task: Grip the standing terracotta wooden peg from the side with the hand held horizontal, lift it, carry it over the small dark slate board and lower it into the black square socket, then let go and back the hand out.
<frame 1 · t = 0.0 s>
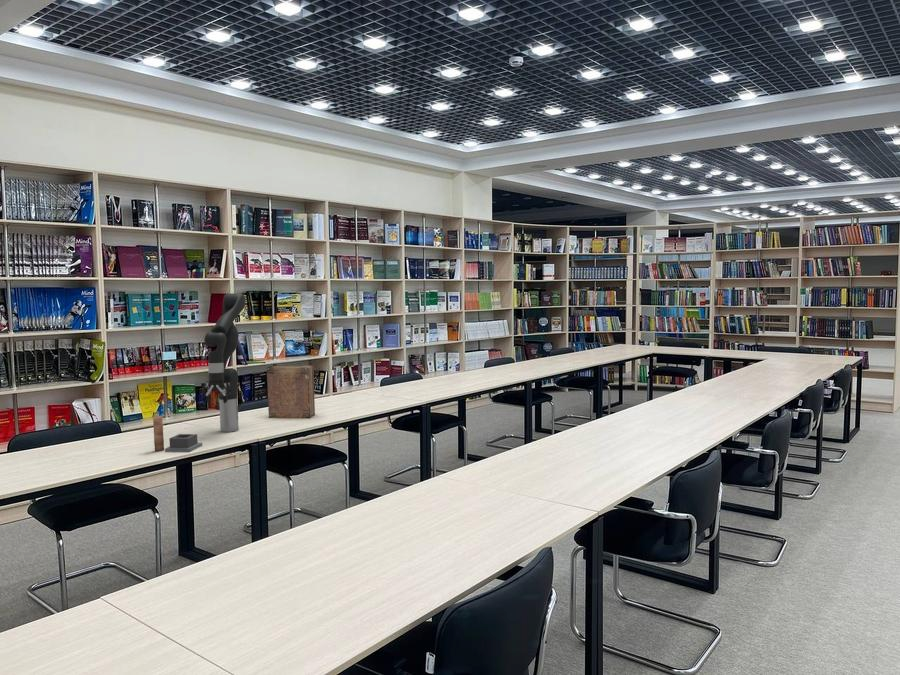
hand: (217, 403, 328), 17 cm above the table, tool pointing down, fingers open, 8 cm apart
socket board: (184, 448, 303), on the table
book: (292, 417, 378), on the table
peg: (159, 450, 300), on the table
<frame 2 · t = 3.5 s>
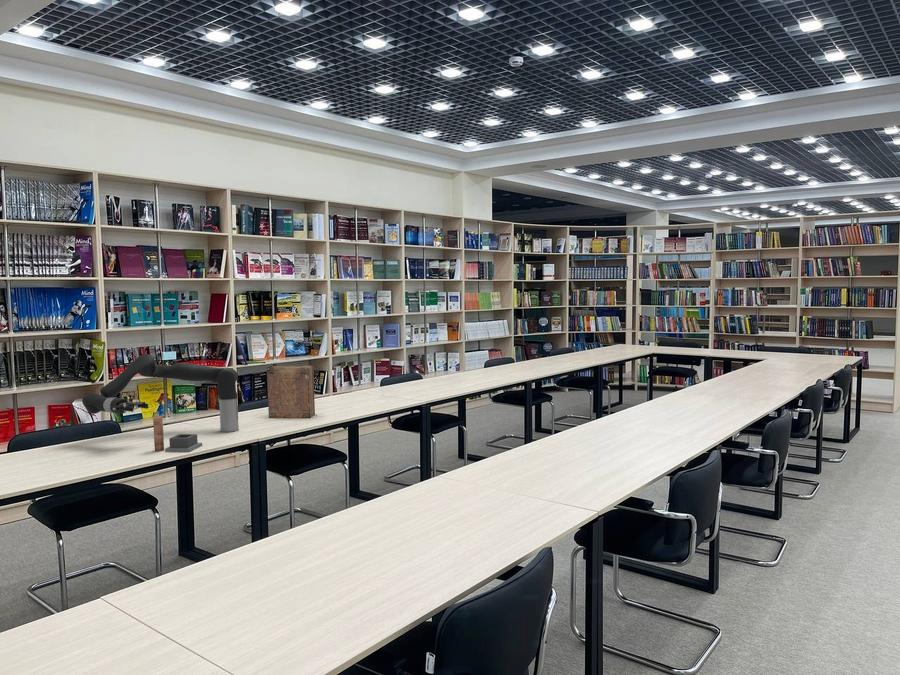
hand: (140, 407, 303), 20 cm above the table, tool horizontal, fingers open, 8 cm apart
nothing on the table moved.
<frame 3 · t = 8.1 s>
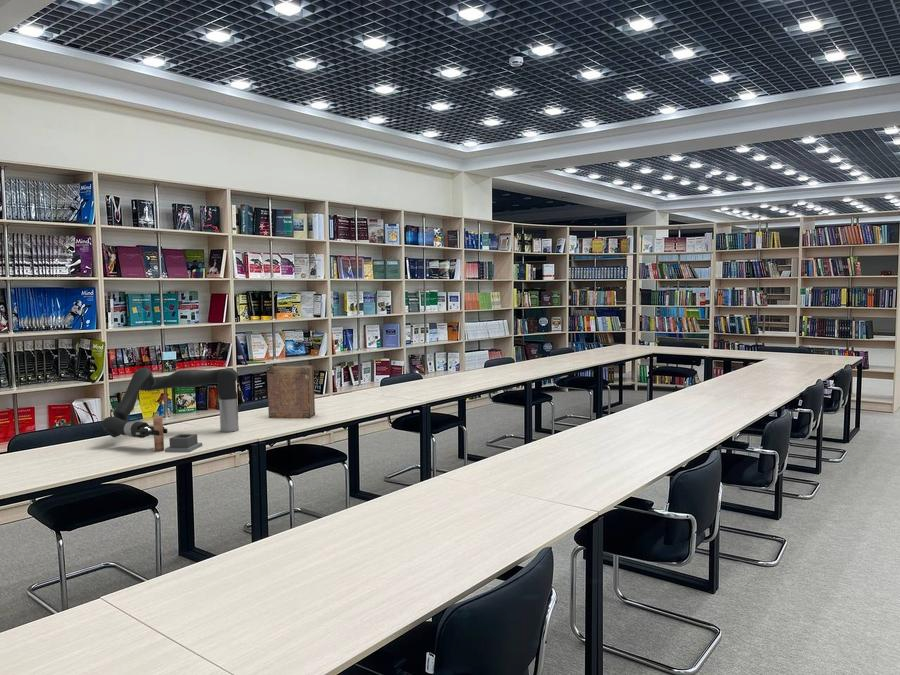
hand: (162, 432, 298), 9 cm above the table, tool horizontal, fingers closed on peg, 4 cm apart
peg: (159, 450, 300), on the table, touching gripper
everything else where it was.
when the fingers open (12 cm above the table, at t = 14.8 s): peg drops 1 cm, resting on socket board.
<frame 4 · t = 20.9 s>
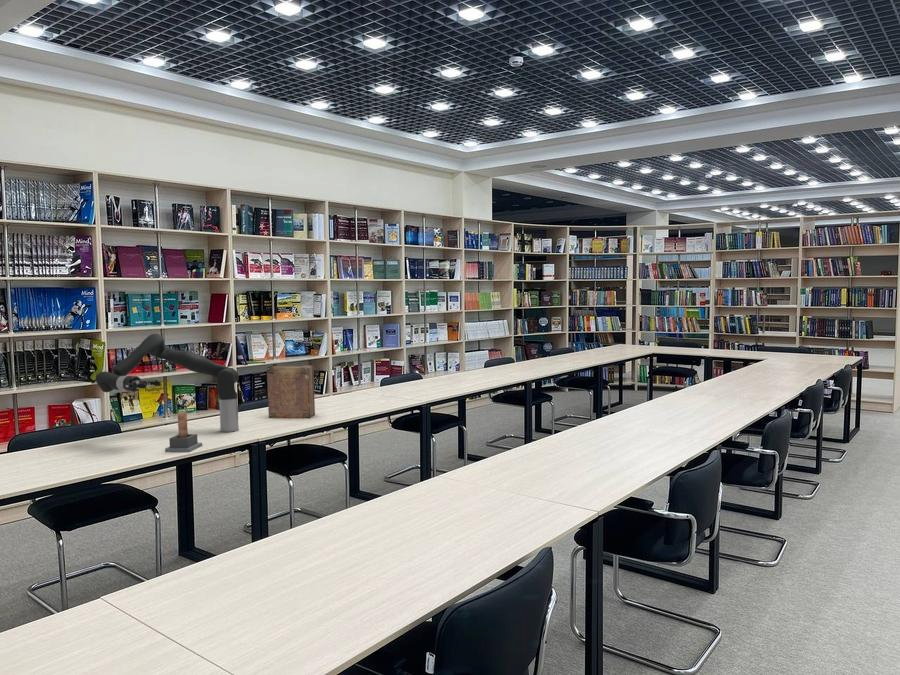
hand: (152, 384, 306), 30 cm above the table, tool horizontal, fingers open, 8 cm apart
peg: (183, 445, 303), point 2 cm above the table, touching socket board
everything else where it was.
at the end: peg 0.1 cm off-centre on the socket board, point 1.5 cm above the socket board's base; peg tilted 1°; the gripper is holding nothing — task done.
